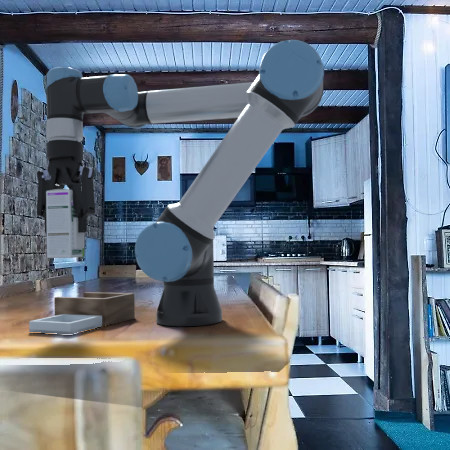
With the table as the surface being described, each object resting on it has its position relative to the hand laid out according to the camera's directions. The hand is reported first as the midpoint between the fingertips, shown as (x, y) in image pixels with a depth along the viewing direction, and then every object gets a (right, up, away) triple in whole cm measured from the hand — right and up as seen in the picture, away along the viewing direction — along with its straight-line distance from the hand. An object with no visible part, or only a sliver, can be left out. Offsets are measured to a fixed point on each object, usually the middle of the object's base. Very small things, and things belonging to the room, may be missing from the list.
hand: (65, 248), depth 107 cm
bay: (+3, -18, +12) cm, 22 cm away
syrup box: (0, -2, 0) cm, 2 cm away
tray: (0, -17, -1) cm, 17 cm away
